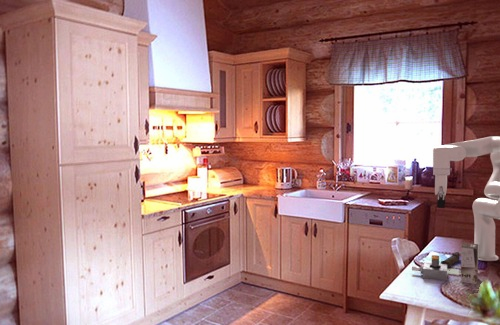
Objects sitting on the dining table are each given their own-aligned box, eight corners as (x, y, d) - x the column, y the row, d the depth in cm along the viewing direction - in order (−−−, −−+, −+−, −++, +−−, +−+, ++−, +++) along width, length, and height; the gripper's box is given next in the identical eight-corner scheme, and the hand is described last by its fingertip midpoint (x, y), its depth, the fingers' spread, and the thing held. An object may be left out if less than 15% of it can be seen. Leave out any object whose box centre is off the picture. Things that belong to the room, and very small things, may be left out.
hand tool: (448, 269, 206) (448, 260, 206) (440, 267, 209) (440, 258, 209) (464, 261, 219) (464, 252, 218) (456, 259, 222) (456, 250, 221)
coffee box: (476, 285, 185) (477, 248, 184) (460, 282, 188) (460, 247, 187) (478, 278, 192) (478, 243, 191) (462, 276, 196) (462, 242, 195)
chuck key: (439, 274, 197) (439, 255, 196) (438, 276, 194) (439, 257, 193) (431, 273, 198) (431, 254, 198) (431, 275, 195) (431, 256, 195)
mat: (441, 268, 208) (441, 267, 208) (459, 270, 204) (459, 269, 204) (440, 273, 201) (440, 272, 201) (459, 275, 197) (459, 274, 197)
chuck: (413, 271, 205) (413, 261, 205) (447, 274, 198) (447, 264, 198) (411, 277, 196) (411, 267, 196) (446, 281, 189) (446, 271, 189)
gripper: (434, 170, 217) (434, 203, 218) (432, 173, 202) (432, 208, 203) (450, 170, 214) (450, 203, 215) (449, 173, 198) (449, 209, 200)
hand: (441, 206), depth 209 cm, fingers open, 9 cm apart
